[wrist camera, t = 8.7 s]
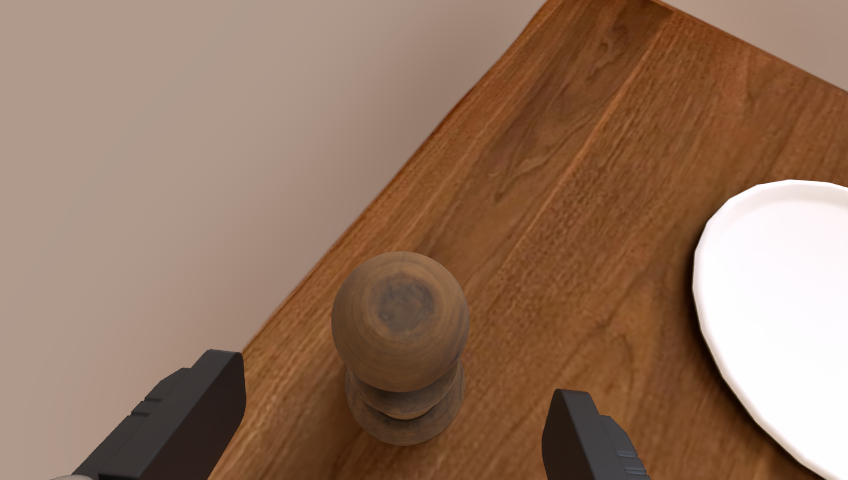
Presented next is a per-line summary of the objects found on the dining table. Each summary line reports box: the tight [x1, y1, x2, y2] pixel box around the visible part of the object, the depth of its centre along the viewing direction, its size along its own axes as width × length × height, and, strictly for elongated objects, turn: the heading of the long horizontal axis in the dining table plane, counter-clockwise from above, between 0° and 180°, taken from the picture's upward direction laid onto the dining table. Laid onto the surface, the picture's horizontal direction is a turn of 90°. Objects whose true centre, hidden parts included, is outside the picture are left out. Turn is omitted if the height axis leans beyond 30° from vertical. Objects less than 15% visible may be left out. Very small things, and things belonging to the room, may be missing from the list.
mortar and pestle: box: [331, 251, 469, 446], centre depth 16 cm, size 7×6×18 cm
